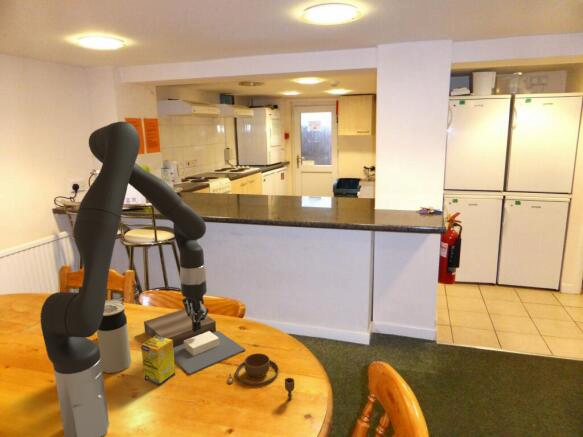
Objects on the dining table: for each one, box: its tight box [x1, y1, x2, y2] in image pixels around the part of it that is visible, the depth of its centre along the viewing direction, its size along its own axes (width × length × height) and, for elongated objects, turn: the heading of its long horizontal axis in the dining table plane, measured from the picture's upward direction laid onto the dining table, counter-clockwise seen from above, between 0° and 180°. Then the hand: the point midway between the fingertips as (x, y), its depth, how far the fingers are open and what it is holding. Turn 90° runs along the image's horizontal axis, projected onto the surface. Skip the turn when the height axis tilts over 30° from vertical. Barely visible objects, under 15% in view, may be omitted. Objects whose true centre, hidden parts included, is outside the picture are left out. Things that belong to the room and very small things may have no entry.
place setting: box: [226, 352, 295, 401], centre depth 111 cm, size 18×20×6 cm
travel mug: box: [96, 303, 132, 374], centre depth 118 cm, size 8×8×18 cm
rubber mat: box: [173, 330, 246, 376], centre depth 127 cm, size 16×19×1 cm
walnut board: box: [143, 308, 217, 348], centre depth 138 cm, size 16×18×4 cm
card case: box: [184, 331, 220, 356], centre depth 128 cm, size 6×9×2 cm, turn 131°
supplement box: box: [140, 335, 176, 386], centre depth 113 cm, size 6×6×11 cm
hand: (196, 331), depth 129 cm, fingers closed
